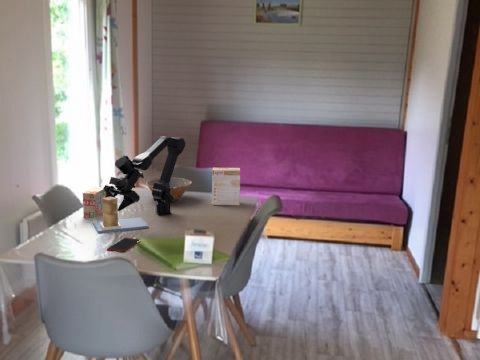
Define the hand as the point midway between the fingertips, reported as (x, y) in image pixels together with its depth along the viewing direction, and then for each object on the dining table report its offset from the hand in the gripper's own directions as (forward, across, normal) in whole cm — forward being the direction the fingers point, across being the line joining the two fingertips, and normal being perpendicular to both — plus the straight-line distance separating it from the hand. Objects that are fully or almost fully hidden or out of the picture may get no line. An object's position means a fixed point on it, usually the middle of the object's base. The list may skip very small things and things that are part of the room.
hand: (111, 208), depth 213 cm
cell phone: (+15, +21, -1) cm, 25 cm away
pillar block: (+6, 0, +5) cm, 8 cm away
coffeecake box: (-41, +12, +55) cm, 70 cm away
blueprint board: (+3, 0, +10) cm, 11 cm away
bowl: (-32, -17, +46) cm, 58 cm away
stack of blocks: (-3, -26, +16) cm, 31 cm away
